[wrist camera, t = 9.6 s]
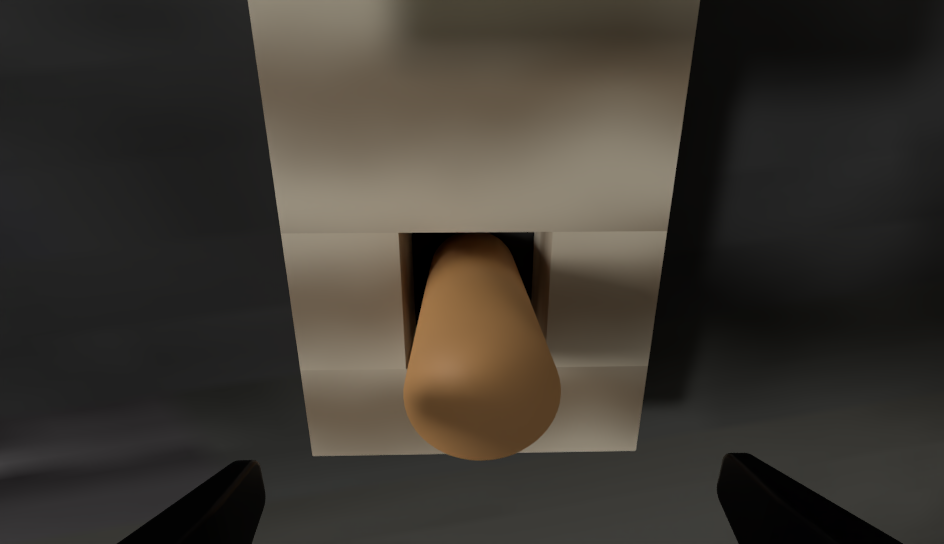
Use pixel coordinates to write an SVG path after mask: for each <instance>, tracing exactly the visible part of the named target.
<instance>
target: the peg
mask: <svg viewBox="0 0 944 544" xmlns="http://www.w3.org/2000/svg"><path fill="white" fill-rule="evenodd" d="M560 398H561V384H560V378H559V375H558V371H557V368H556V366H555V363H554V361H553V358H552V356H551V353H550V351H549V348H548V345H547V343H546V340H545V338H544V335H543V333H542V330H541V328H540V325H539V322H538V320H537V317H536V315H535V312H534V310H533V307H532V305H531V302H530V299H529V297H528V294H527V292H526V289H525V287H524V284H523V282H522V279H521V276H520V274H519V271H518V269H517V266H516V264H515V261H514V259H513V256H512V254H511V252H510V250H509V249H508V247H507V246H506V245H505V244H504V243H503V242H502V241H501V240H500V239H499V238H497V237H496V236H494V235H492V234H490V233H487V232H459V233H456V234H454V235H452V236H450V237H449V238H447V239H446V240H445V241H444V242H443V243H442V244H441V245H440V246H439V247H438V248H437V250H436V251H435V253H434V255H433V258H432V261H431V265H430V270H429V274H428V279H427V283H426V288H425V292H424V297H423V301H422V306H421V310H420V315H419V319H418V324H417V328H416V333H415V337H414V342H413V346H412V351H411V355H410V360H409V364H408V369H407V373H406V378H405V383H404V389H403V399H404V406H405V410H406V413H407V416H408V418H409V420H410V422H411V424H412V426H413V427H414V429H415V430H416V431H417V433H418V434H419V435H420V436H421V437H422V438H423V439H424V440H425V441H426V442H427V443H429V444H430V445H432V446H433V447H434V448H436V449H438V450H440V451H442V452H444V453H446V454H449V455H451V456H454V457H458V458H462V459H468V460H493V459H499V458H503V457H507V456H510V455H513V454H515V453H517V452H520V451H522V450H523V449H525V448H527V447H529V446H530V445H531V444H533V443H534V442H536V441H537V440H538V439H539V438H540V437H541V436H542V435H543V434H544V433H545V432H546V430H547V429H548V428H549V426H550V425H551V423H552V422H553V420H554V418H555V416H556V414H557V411H558V408H559V404H560Z"/></svg>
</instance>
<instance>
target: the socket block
mask: <svg viewBox="0 0 944 544" xmlns="http://www.w3.org/2000/svg"><path fill="white" fill-rule="evenodd" d="M248 5H249V12H250V19H251V26H252V33H253V40H254V47H255V54H256V61H257V68H258V75H259V82H260V89H261V96H262V103H263V110H264V117H265V124H266V131H267V138H268V145H269V152H270V159H271V166H272V173H273V180H274V187H275V195H276V202H277V209H278V216H279V223H280V230H281V237H282V244H283V251H284V258H285V265H286V272H287V279H288V286H289V293H290V300H291V307H292V314H293V321H294V328H295V335H296V342H297V349H298V356H299V363H300V370H301V377H302V384H303V391H304V399H305V406H306V413H307V420H308V427H309V434H310V441H311V448H312V455H313V456H348V455H408V454H446V453H444V452H442V451H440V450H438V449H436V448H434V447H433V446H432V445H430V444H429V443H427V442H426V441H425V440H424V439H423V438H422V437H421V436H420V435H419V434H418V433H417V431H416V430H415V429H414V427H413V426H412V424H411V422H410V420H409V418H408V416H407V413H406V410H405V406H404V399H403V389H404V383H405V378H406V373H407V369H408V364H409V360H410V355H411V351H412V346H413V342H414V337H415V333H416V328H417V326H416V319H415V297H414V276H413V254H412V233H445V232H534V251H533V273H532V296H531V305H532V307H533V310H534V312H535V315H536V317H537V320H538V322H539V325H540V328H541V330H542V333H543V335H544V338H545V340H546V343H547V345H548V348H549V351H550V353H551V356H552V358H553V361H554V363H555V366H556V368H557V371H558V375H559V378H560V384H561V398H560V404H559V408H558V411H557V414H556V416H555V418H554V420H553V422H552V423H551V425H550V426H549V428H548V429H547V430H546V432H545V433H544V434H543V435H542V436H541V437H540V438H539V439H538V440H537V441H536V442H534V443H533V444H531V445H530V446H529V447H527V448H525V449H523V450H522V451H520V452H517V453H529V452H589V451H636V445H637V438H638V431H639V424H640V417H641V410H642V403H643V396H644V389H645V382H646V375H647V368H648V362H649V355H650V348H651V341H652V334H653V327H654V320H655V313H656V306H657V299H658V292H659V285H660V278H661V271H662V264H663V257H664V250H665V243H666V236H667V229H668V222H669V215H670V208H671V201H672V194H673V187H674V180H675V173H676V166H677V159H678V152H679V145H680V138H681V131H682V124H683V117H684V110H685V103H686V96H687V89H688V82H689V75H690V68H691V61H692V54H693V47H694V40H695V33H696V26H697V19H698V12H699V5H700V0H248Z"/></svg>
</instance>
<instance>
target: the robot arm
mask: <svg viewBox="0 0 944 544" xmlns="http://www.w3.org/2000/svg"><path fill="white" fill-rule="evenodd" d="M717 494H718V498H719V501H720V503H721V505H722V508H723V510H724V512H725V514H726V517H727V519H728V521H729V523H730V526H731V528H732V530H733V532H734V535H735V537H736V539H737V541H738V544H903V543H901V542H899V541H898V540H896V539H894V538H892V537H891V536H889V535H887V534H886V533H884V532H882V531H880V530H879V529H877V528H875V527H874V526H872V525H870V524H869V523H867V522H865V521H863V520H862V519H860V518H858V517H857V516H855V515H853V514H851V513H850V512H848V511H846V510H845V509H843V508H841V507H840V506H838V505H836V504H834V503H833V502H831V501H829V500H828V499H826V498H824V497H822V496H821V495H819V494H817V493H816V492H814V491H812V490H811V489H809V488H807V487H805V486H804V485H802V484H800V483H799V482H797V481H795V480H793V479H792V478H790V477H788V476H787V475H785V474H783V473H782V472H780V471H778V470H776V469H775V468H773V467H771V466H770V465H768V464H766V463H764V462H763V461H761V460H759V459H758V458H756V457H754V456H753V455H751V454H748V453H728V454H726V455H725V456H724V457H723V461H722V465H721V470H720V474H719V479H718V483H717ZM264 505H265V489H264V483H263V478H262V473H261V468H260V465H259V463H258V462H257V461H255V460H238V461H234V462H233V463H231V464H229V465H228V466H227V467H225V468H224V469H222V470H221V471H219V472H218V473H217V474H215V475H214V476H212V477H211V478H210V479H208V480H207V481H205V482H204V483H202V484H201V485H200V486H198V487H197V488H195V489H194V490H193V491H191V492H190V493H188V494H187V495H185V496H184V497H183V498H181V499H180V500H178V501H177V502H176V503H174V504H173V505H171V506H170V507H168V508H167V509H166V510H164V511H163V512H161V513H160V514H158V515H157V516H156V517H154V518H153V519H151V520H150V521H149V522H147V523H146V524H144V525H143V526H141V527H140V528H139V529H137V530H136V531H134V532H133V533H132V534H130V535H129V536H127V537H126V538H124V539H123V540H122V541H120V542H119V543H117V544H252V541H253V538H254V535H255V532H256V529H257V526H258V523H259V520H260V517H261V514H262V512H263V508H264Z"/></svg>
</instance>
